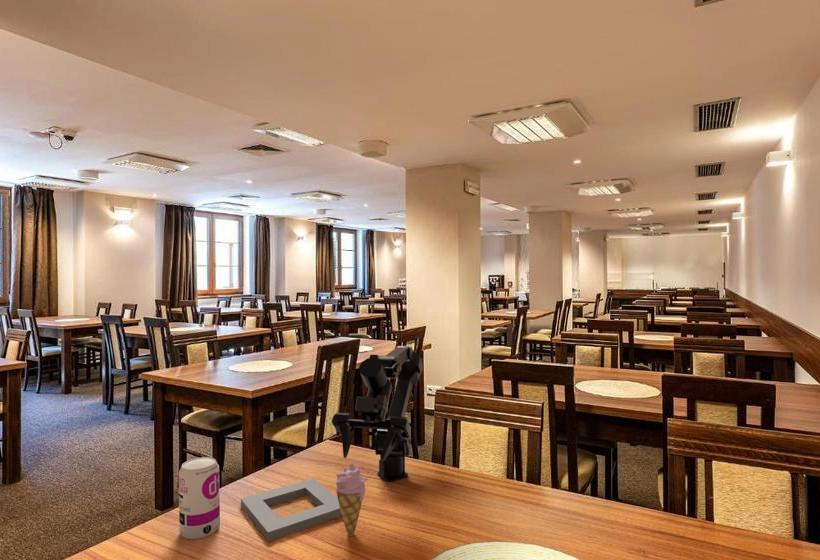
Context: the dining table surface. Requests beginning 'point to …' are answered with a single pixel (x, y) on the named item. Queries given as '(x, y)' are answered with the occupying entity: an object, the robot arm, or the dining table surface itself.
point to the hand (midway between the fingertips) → (363, 459)
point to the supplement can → (199, 498)
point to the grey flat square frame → (293, 523)
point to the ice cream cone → (350, 495)
